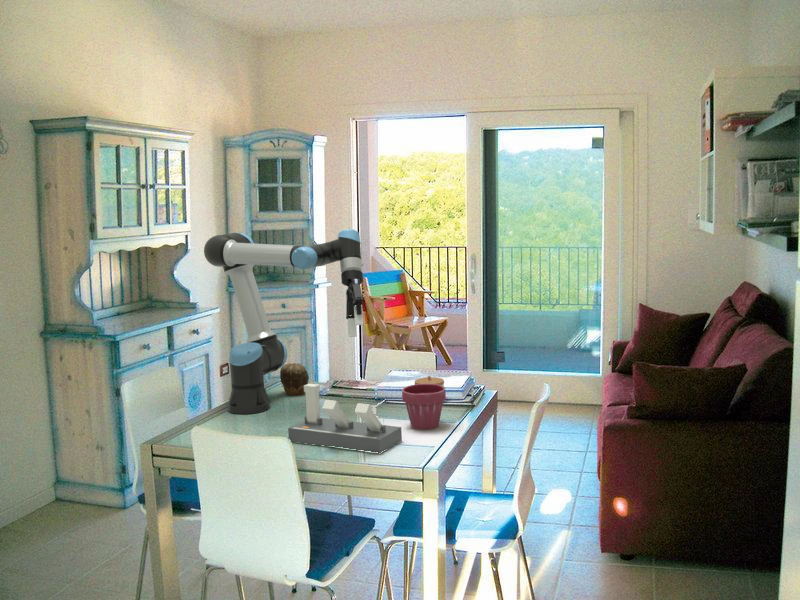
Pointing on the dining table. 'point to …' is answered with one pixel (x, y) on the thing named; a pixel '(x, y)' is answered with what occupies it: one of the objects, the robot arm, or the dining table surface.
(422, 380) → the lidded jar
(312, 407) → the lever
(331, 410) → the middle lever
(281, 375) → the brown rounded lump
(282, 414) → the dining table surface
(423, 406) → the plant pot
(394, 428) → the breaker panel
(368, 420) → the right lever
